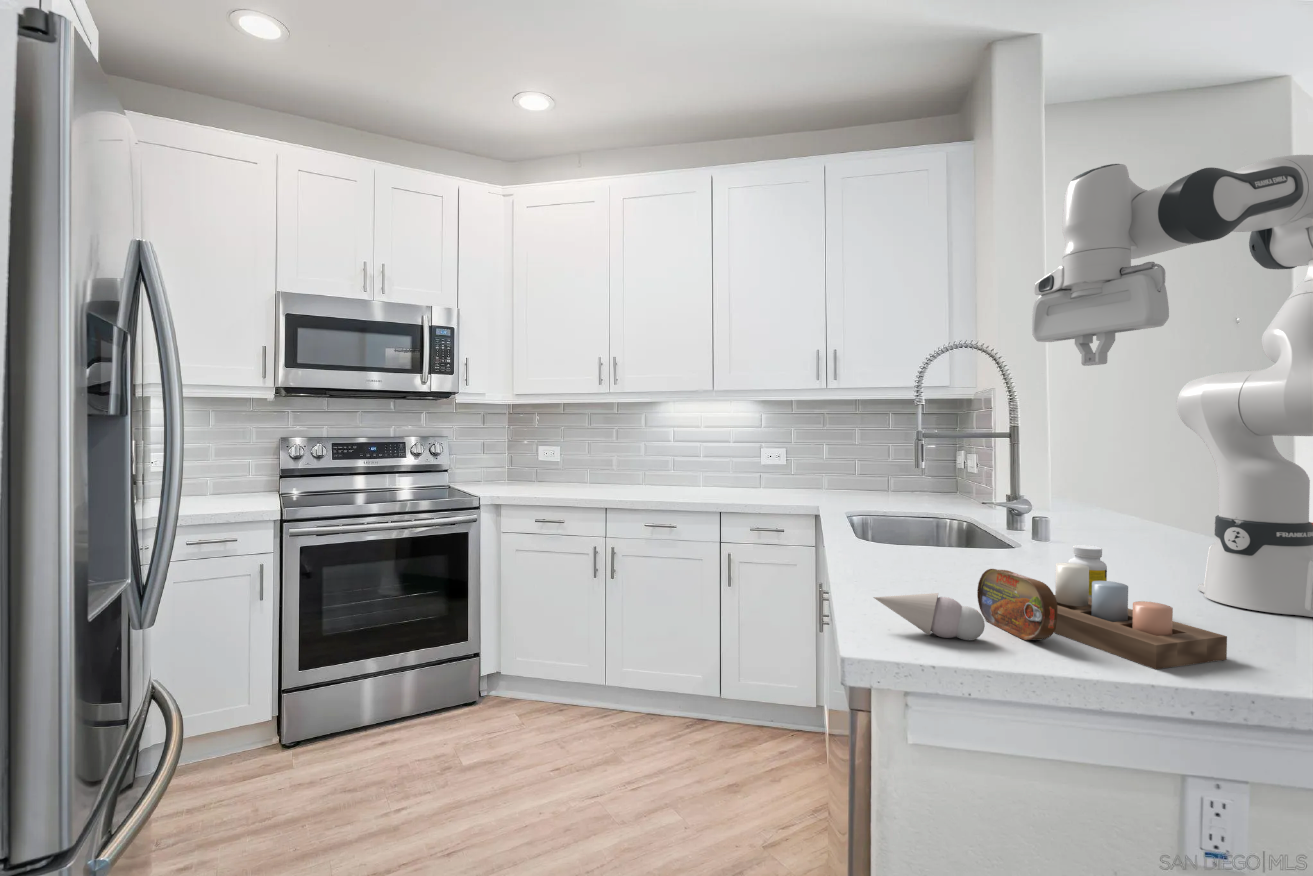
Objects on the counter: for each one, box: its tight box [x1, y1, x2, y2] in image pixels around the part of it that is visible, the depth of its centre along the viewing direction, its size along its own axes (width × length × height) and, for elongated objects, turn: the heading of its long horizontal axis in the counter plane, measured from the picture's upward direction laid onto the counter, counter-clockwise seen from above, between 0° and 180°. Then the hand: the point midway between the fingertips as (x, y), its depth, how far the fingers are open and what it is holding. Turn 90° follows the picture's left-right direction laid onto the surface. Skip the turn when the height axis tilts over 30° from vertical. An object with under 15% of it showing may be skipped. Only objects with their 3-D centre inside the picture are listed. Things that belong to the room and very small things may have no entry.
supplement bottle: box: [1067, 544, 1108, 598], centre depth 107 cm, size 5×5×10 cm
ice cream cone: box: [873, 592, 986, 641], centre depth 93 cm, size 6×6×15 cm
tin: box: [976, 568, 1058, 641], centre depth 95 cm, size 15×3×8 cm, turn 5°
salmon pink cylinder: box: [1132, 600, 1174, 636], centre depth 86 cm, size 4×4×6 cm
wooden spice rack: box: [1053, 594, 1228, 670], centre depth 92 cm, size 12×22×3 cm, turn 16°
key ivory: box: [1054, 562, 1089, 606], centre depth 98 cm, size 4×4×6 cm
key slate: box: [1092, 580, 1129, 622], centre depth 92 cm, size 4×4×6 cm
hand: (1094, 364), depth 100 cm, fingers closed
